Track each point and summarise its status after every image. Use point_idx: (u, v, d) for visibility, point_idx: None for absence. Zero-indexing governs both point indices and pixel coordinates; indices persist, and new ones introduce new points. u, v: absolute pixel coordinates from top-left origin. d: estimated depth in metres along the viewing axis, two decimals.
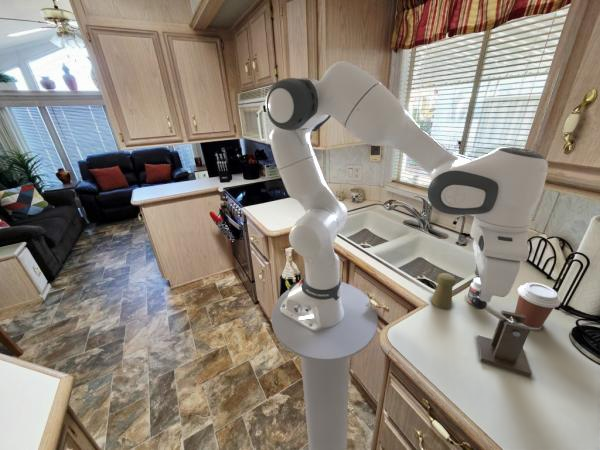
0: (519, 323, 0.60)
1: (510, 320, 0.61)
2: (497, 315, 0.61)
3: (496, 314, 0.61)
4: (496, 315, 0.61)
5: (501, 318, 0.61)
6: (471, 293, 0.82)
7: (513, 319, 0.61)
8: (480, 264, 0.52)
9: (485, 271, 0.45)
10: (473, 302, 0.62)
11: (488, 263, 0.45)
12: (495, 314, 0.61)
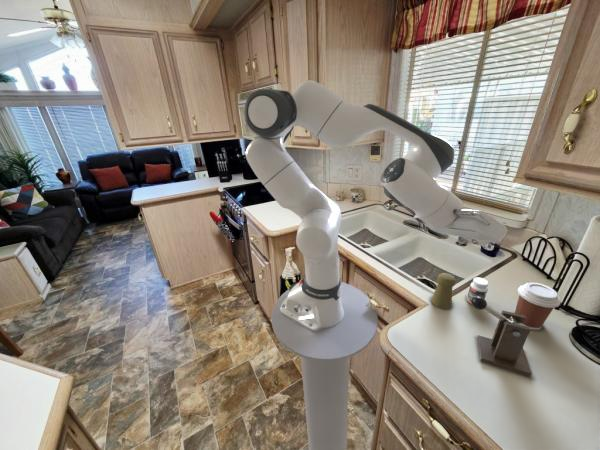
0: (519, 323, 0.60)
1: (510, 320, 0.61)
2: (497, 315, 0.61)
3: (496, 314, 0.61)
4: (496, 315, 0.61)
5: (501, 318, 0.61)
6: (471, 293, 0.82)
7: (513, 319, 0.61)
8: None
9: None
10: (473, 302, 0.62)
11: None
12: (495, 314, 0.61)
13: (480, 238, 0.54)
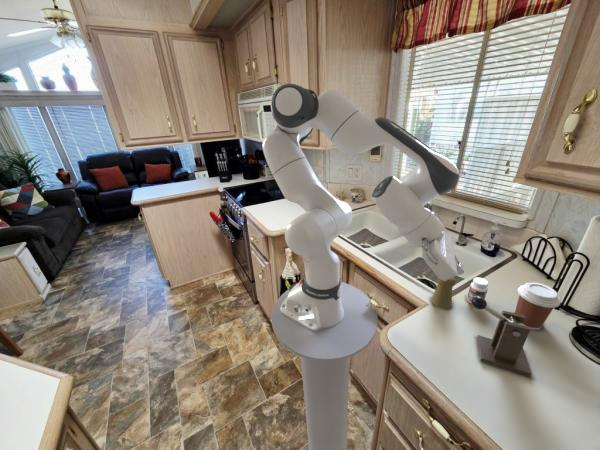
0: (519, 323, 0.60)
1: (510, 320, 0.61)
2: (497, 315, 0.61)
3: (496, 314, 0.61)
4: (496, 315, 0.61)
5: (501, 318, 0.61)
6: (471, 293, 0.82)
7: (513, 319, 0.61)
8: (448, 242, 0.64)
9: None
10: (473, 302, 0.62)
11: None
12: (495, 314, 0.61)
13: None
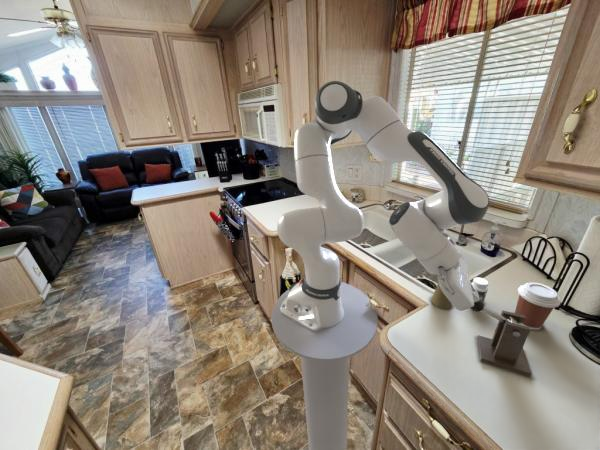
0: (519, 323, 0.60)
1: (509, 320, 0.61)
2: (496, 316, 0.61)
3: (494, 315, 0.62)
4: (495, 316, 0.62)
5: (500, 319, 0.61)
6: None
7: (512, 319, 0.61)
8: (463, 269, 0.64)
9: (457, 249, 0.69)
10: None
11: None
12: (494, 315, 0.62)
13: None
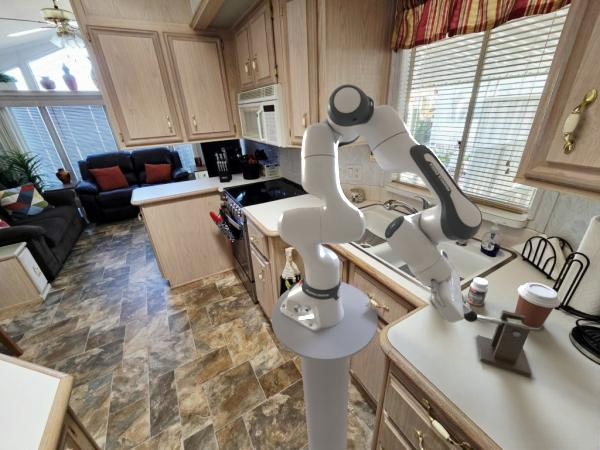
0: (516, 321, 0.60)
1: (507, 321, 0.61)
2: (492, 321, 0.62)
3: (490, 320, 0.62)
4: (491, 321, 0.62)
5: (497, 323, 0.62)
6: (471, 293, 0.82)
7: (509, 319, 0.61)
8: (455, 281, 0.66)
9: (450, 261, 0.71)
10: (464, 317, 0.65)
11: None
12: (490, 321, 0.63)
13: None
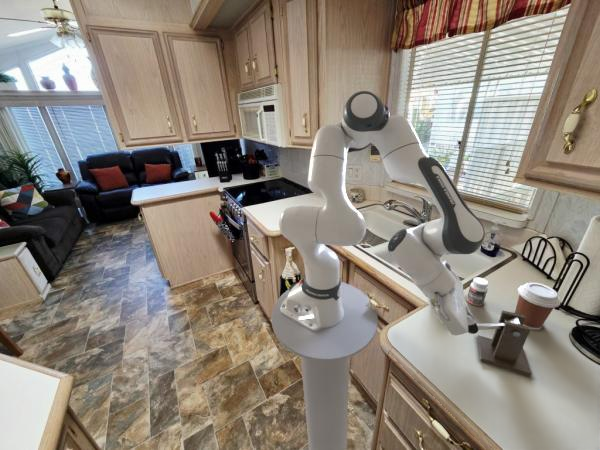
0: (514, 320, 0.61)
1: None
2: (492, 327, 0.63)
3: (490, 327, 0.63)
4: (492, 327, 0.63)
5: (497, 327, 0.62)
6: (471, 293, 0.82)
7: (506, 321, 0.61)
8: (459, 292, 0.67)
9: (453, 271, 0.72)
10: None
11: None
12: (490, 327, 0.63)
13: None
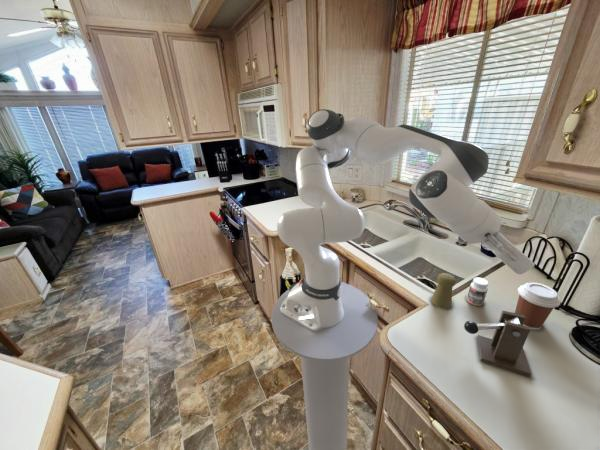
0: (514, 320, 0.61)
1: None
2: (492, 327, 0.63)
3: (490, 327, 0.63)
4: (492, 327, 0.63)
5: (497, 327, 0.62)
6: (471, 293, 0.82)
7: (506, 321, 0.61)
8: None
9: None
10: (466, 330, 0.66)
11: None
12: (490, 327, 0.63)
13: None
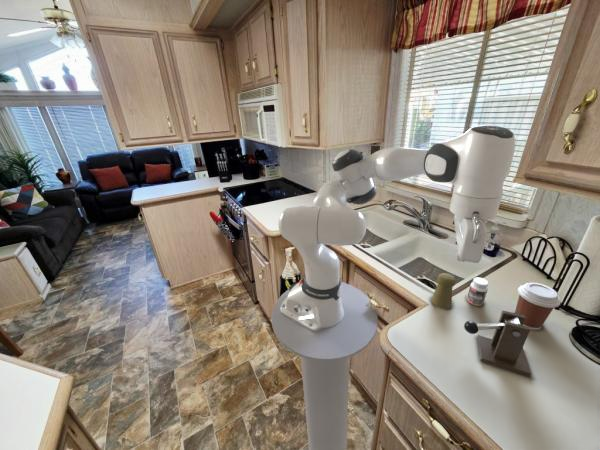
0: (514, 320, 0.61)
1: None
2: (492, 327, 0.63)
3: (490, 327, 0.63)
4: (492, 327, 0.63)
5: (497, 327, 0.62)
6: (471, 293, 0.82)
7: (506, 321, 0.61)
8: None
9: None
10: (466, 330, 0.66)
11: None
12: (490, 327, 0.63)
13: (458, 247, 0.54)
